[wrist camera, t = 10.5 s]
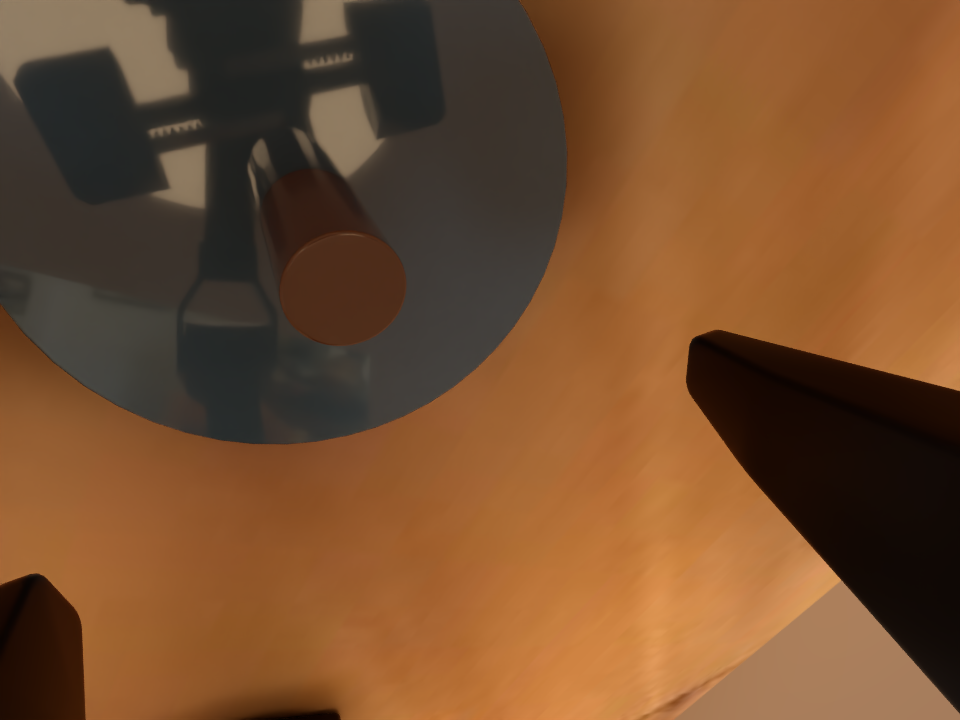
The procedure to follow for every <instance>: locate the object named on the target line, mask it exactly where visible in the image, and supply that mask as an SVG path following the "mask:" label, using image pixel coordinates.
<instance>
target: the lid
mask: <svg viewBox="0 0 960 720" xmlns="http://www.w3.org/2000/svg"><path fill="white" fill-rule="evenodd" d="M566 185H567V145H566V134H565V124H564V116H563V111H562V107H561V102H560V98H559V93H558V89H557V84H556V80H555V78H554V75H553V72H552V69H551V66H550V63H549V61H548V58H547V55H546V52H545V49H544V46H543V44H542V42H541V40H540V38H539V36H538V34H537V32H536V30H535V28H534V26H533V24H532V22H531V20H530V18H529V16H528V14H527V12H526V10H525V9H524V7H523V6H522V4H521V3H520V1H519V0H0V304H1V305H2V307H3V308H4V309H5V310H6V312H7V313H8V314H9V315H10V317H11V318H12V319H13V321H14V322H15V323H16V324H17V326H18V327H19V328H20V329H21V331H22V332H23V333H24V334H25V335H26V336H27V337H28V338H29V339H30V340H31V341H32V342H33V343H34V344H35V345H36V346H37V347H38V348H39V349H40V350H41V351H42V352H43V353H44V354H45V355H46V356H47V357H48V358H49V359H50V360H51V361H52V362H54V363H55V364H56V365H57V366H59V367H60V368H61V369H63V370H64V371H65V372H67V373H68V374H69V375H71V376H72V377H73V378H74V379H76V380H77V381H78V382H80V383H81V384H82V385H84V386H85V387H87V388H88V389H90V390H92V391H93V392H95V393H97V394H98V395H100V396H102V397H103V398H105V399H107V400H108V401H110V402H112V403H113V404H115V405H117V406H119V407H121V408H123V409H125V410H127V411H130V412H132V413H134V414H136V415H138V416H141V417H143V418H145V419H147V420H149V421H152V422H155V423H158V424H161V425H164V426H167V427H170V428H173V429H176V430H179V431H182V432H185V433H189V434H194V435H198V436H203V437H207V438H212V439H217V440H222V441H231V442H240V443H249V444H295V443H306V442H317V441H323V440H328V439H333V438H338V437H344V436H348V435H352V434H355V433H359V432H362V431H365V430H369V429H372V428H376V427H378V426H381V425H383V424H386V423H388V422H391V421H393V420H396V419H398V418H401V417H403V416H405V415H407V414H409V413H411V412H413V411H415V410H417V409H419V408H420V407H422V406H424V405H426V404H428V403H430V402H431V401H433V400H434V399H436V398H437V397H439V396H441V395H442V394H444V393H445V392H447V391H448V390H450V389H451V388H453V387H454V386H455V385H457V384H458V383H459V382H460V381H461V380H463V379H464V378H465V377H466V376H468V375H469V374H470V373H471V372H473V371H474V370H475V369H476V368H477V367H478V366H479V365H480V364H481V363H482V362H483V361H484V360H485V359H486V358H487V357H488V356H489V355H490V354H491V353H492V352H493V351H494V350H495V349H496V348H497V347H498V346H499V344H500V343H501V342H502V341H503V340H504V338H505V337H506V336H507V335H508V333H509V332H510V331H511V330H512V328H513V327H514V326H515V324H516V323H517V321H518V320H519V318H520V317H521V315H522V314H523V312H524V311H525V309H526V308H527V306H528V304H529V303H530V301H531V299H532V297H533V295H534V293H535V292H536V290H537V288H538V286H539V284H540V282H541V280H542V278H543V276H544V273H545V271H546V268H547V265H548V263H549V260H550V257H551V255H552V252H553V249H554V247H555V243H556V239H557V235H558V231H559V227H560V223H561V219H562V214H563V207H564V200H565V192H566Z"/></svg>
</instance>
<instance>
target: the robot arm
mask: <svg viewBox="0 0 960 720" xmlns="http://www.w3.org/2000/svg"><path fill="white" fill-rule="evenodd" d="M686 383H687V388H688V391H689V393H690V395H691V396H692V398H693V399H694V401H695V402H696V403H697V405H698V406H699V408H700V409H701V410H702V412H703V413H704V415H705V416H706V417H707V419H708V420H709V422H710V423H711V424H712V426H713V427H714V429H715V430H716V431H717V433H718V434H719V436H720V437H721V438H722V440H723V441H724V443H725V444H726V445H727V447H728V448H729V450H730V451H731V452H732V454H733V455H734V457H735V458H736V459H737V461H738V462H739V463H740V465H741V466H742V467H743V468H744V470H745V471H746V472H747V474H748V475H749V476H750V477H751V478H752V479H753V481H754V482H755V483H756V484H757V485H758V486H759V488H760V489H761V490H762V491H763V492H764V493H765V494H766V495H767V497H768V498H769V499H770V500H771V501H772V502H773V503H774V505H775V506H776V507H777V508H778V509H779V510H780V511H781V512H782V514H783V515H784V516H785V517H786V518H787V519H788V520H789V521H790V523H791V524H792V525H793V526H794V527H795V528H796V529H797V530H798V532H799V533H800V534H801V535H802V536H803V537H804V538H805V540H806V541H807V542H808V543H809V544H810V545H811V546H812V547H813V549H814V550H815V551H816V552H817V553H818V554H819V555H820V556H821V558H822V559H823V560H824V561H825V562H826V563H827V564H828V565H829V567H830V568H831V569H832V570H833V571H834V572H835V573H836V574H837V576H838V577H839V578H840V579H841V580H842V581H843V582H844V584H845V585H846V586H847V587H848V588H849V589H850V590H851V591H852V593H853V594H854V595H855V596H856V597H857V598H858V599H859V600H860V601H861V603H862V604H863V605H864V606H865V607H866V608H867V609H868V611H869V612H870V613H871V614H872V615H873V616H874V617H875V619H876V620H877V621H878V622H879V623H880V624H881V625H882V626H883V628H884V629H885V630H886V631H887V632H888V633H889V634H890V635H891V637H892V638H893V639H894V640H895V641H896V642H897V643H898V644H899V646H900V647H901V648H902V649H903V650H904V651H905V652H906V653H907V655H908V656H909V657H910V658H911V659H912V660H913V661H914V663H915V664H916V665H917V666H918V667H919V668H920V669H921V670H922V672H923V673H924V674H925V675H926V676H927V677H928V678H929V679H930V681H931V682H932V683H933V684H934V685H935V686H936V687H937V688H938V690H939V691H940V692H941V693H942V694H943V695H944V696H945V698H946V699H947V700H948V701H949V702H950V703H951V704H952V705H953V707H954V708H955V709H956V710H957V711H958V712H959V713H960V391H957V390H954V389H950V388H946V387H942V386H938V385H934V384H930V383H926V382H922V381H918V380H914V379H910V378H906V377H903V376H899V375H895V374H891V373H887V372H883V371H879V370H875V369H871V368H867V367H863V366H859V365H855V364H852V363H848V362H844V361H840V360H836V359H832V358H828V357H824V356H820V355H816V354H812V353H808V352H805V351H801V350H797V349H793V348H789V347H785V346H781V345H777V344H773V343H769V342H765V341H761V340H757V339H754V338H750V337H746V336H742V335H738V334H734V333H730V332H726V331H722V330H713V331H710V332H707V333H705V334H702V335H699V336H696V337H695V338H693V339H692V341H691V343H690V346H689V355H688V365H687V375H686ZM0 720H86V719H85V694H84V669H83V643H82V626H81V621H80V618H79V615H78V613H77V611H76V610H75V609H74V607H73V606H72V605H71V604H70V603H69V602H68V601H67V600H66V599H65V598H64V597H63V595H62V594H61V593H60V592H59V591H58V590H57V589H56V588H55V587H54V586H53V585H52V584H51V583H50V582H49V580H48V579H46V578H45V577H44V576H42V575H40V574H29V575H26V576H24V577H21V578H18V579H15V580H12V581H10V582H7V583H4V584H2V585H0ZM279 720H341V718H340V715H339V714H338V713H330V714H321V715H313V716H304V717H296V718H287V719H279Z"/></svg>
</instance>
